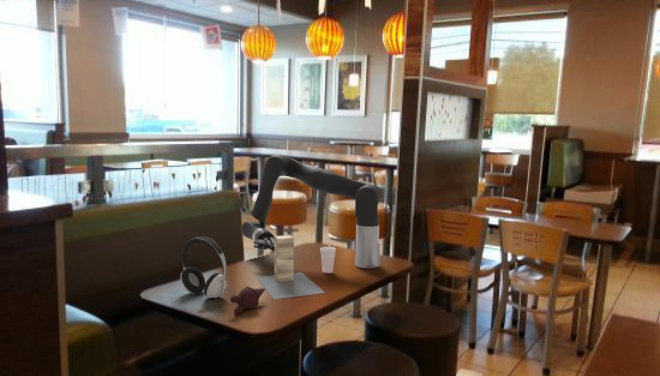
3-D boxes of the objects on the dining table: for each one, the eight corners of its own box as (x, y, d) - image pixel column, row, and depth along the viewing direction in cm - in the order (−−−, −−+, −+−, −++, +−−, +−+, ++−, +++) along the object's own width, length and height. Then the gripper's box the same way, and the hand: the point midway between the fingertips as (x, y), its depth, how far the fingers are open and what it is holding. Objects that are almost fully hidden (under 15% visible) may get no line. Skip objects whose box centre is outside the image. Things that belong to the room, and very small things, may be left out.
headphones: (234, 297, 163) (233, 238, 160) (216, 305, 155) (215, 243, 153) (191, 286, 172) (190, 230, 169) (173, 293, 165) (172, 235, 162)
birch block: (274, 278, 181) (274, 236, 179) (289, 276, 183) (290, 234, 181) (277, 282, 177) (277, 238, 175) (293, 280, 179) (293, 237, 177)
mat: (255, 278, 182) (255, 277, 182) (301, 273, 189) (301, 272, 189) (274, 300, 160) (274, 299, 160) (325, 294, 167) (325, 292, 167)
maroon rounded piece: (253, 279, 162) (221, 296, 149) (270, 278, 158) (238, 295, 145) (258, 299, 162) (226, 317, 150) (275, 298, 158) (244, 317, 146)
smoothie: (334, 276, 187) (334, 240, 185) (317, 274, 188) (318, 239, 187) (337, 271, 193) (338, 236, 192) (321, 269, 195) (321, 235, 193)
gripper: (247, 230, 201) (258, 240, 185) (278, 228, 206) (292, 238, 190) (247, 248, 202) (258, 259, 186) (278, 246, 207) (291, 257, 191)
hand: (275, 248), depth 188 cm, fingers closed
